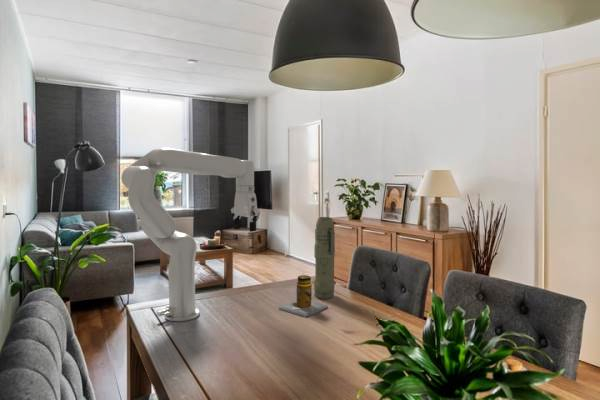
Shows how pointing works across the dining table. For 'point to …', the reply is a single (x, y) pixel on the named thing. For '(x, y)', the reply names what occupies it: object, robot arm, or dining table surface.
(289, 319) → the dining table surface
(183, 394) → the dining table surface
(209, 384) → the dining table surface
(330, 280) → the thermos
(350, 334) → the dining table surface
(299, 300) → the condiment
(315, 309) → the plate
